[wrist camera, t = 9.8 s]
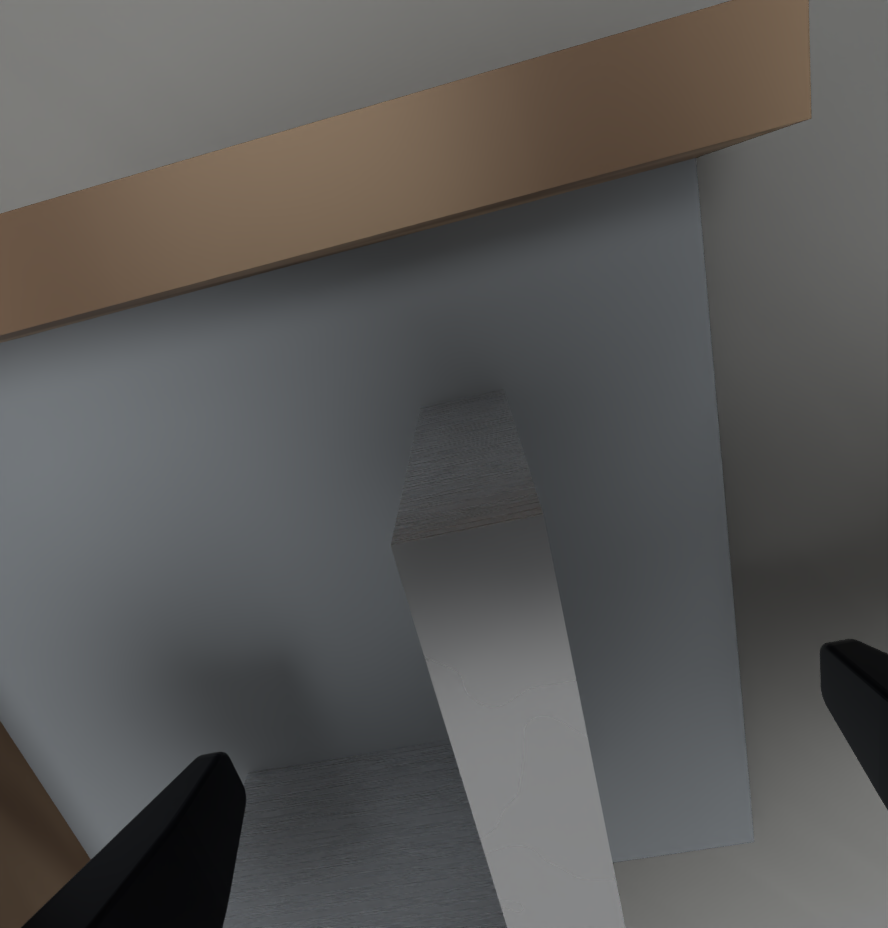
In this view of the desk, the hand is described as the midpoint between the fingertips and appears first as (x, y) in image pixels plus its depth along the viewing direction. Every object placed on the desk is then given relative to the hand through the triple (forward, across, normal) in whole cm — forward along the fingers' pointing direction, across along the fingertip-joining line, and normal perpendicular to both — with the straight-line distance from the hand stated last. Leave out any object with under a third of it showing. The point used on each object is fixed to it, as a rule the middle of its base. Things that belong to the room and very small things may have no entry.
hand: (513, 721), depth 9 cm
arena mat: (+4, +4, 0) cm, 5 cm away
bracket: (+3, +3, 0) cm, 4 cm away
